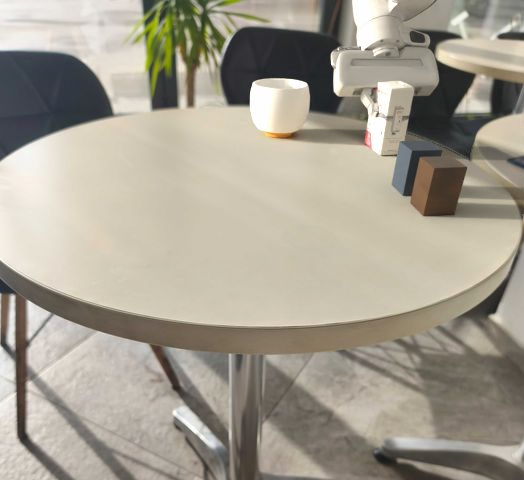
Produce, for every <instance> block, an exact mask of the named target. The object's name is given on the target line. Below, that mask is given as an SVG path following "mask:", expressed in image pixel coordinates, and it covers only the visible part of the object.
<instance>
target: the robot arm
mask: <svg viewBox="0 0 524 480" xmlns="http://www.w3.org/2000/svg"><path fill="white" fill-rule="evenodd" d="M437 1H438V0H351V3H352V14H353V21H354V24H355V26H356V29H357V30H356V37H355V39H356V46H341V45H340V46H337V48H335V49H333V50H332V51H331V53H330V56H329V57H330V64H331V66H332V68H333V74H332V75H333V78H332V79H333V81H332V82H333V83H332V84H333V85H332V86H333V93H334V94H335V95H336V96H337V97H340V98H342V97H343V98H344V97H345V98H347V97H348V98H349V97H352V98H353V97H359V98H360V101H361V103H362V105H364V107H365V108H366V109H367V115H368V117H369V116H377V114H378V113H379V108H378V103H374V102H373V100H372V92H373V89H374V88H377V86H378V82H388V81H403V82H405V83H407V84H409V85H411V86H413V87H414V94H413V97H427V96H431V95H432V93H433V92H434V90H435V89H436V88H437V87H438V85H439V83H440V77H439V76H440V75H439V70H438V65H437V61H436V57H435V54H434V52H433V51H432V50H431V49H430V48H429V47H430V44H431V37H430V36H429V34H427V33H423V32H420V31H418V30H416V29H412V28H411V27H408V26H406V25H404V24H403V23H405V22H408V21H410V20H412V19H413V18H416V17H417V16H418V15H420V14H422V13H423V12H425V11H426V10H428V9H429V8H431V7H432V6H433V5H434V4H435V3H436V2H437ZM411 110H412V108H411V109H410V112H411Z"/></svg>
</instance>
